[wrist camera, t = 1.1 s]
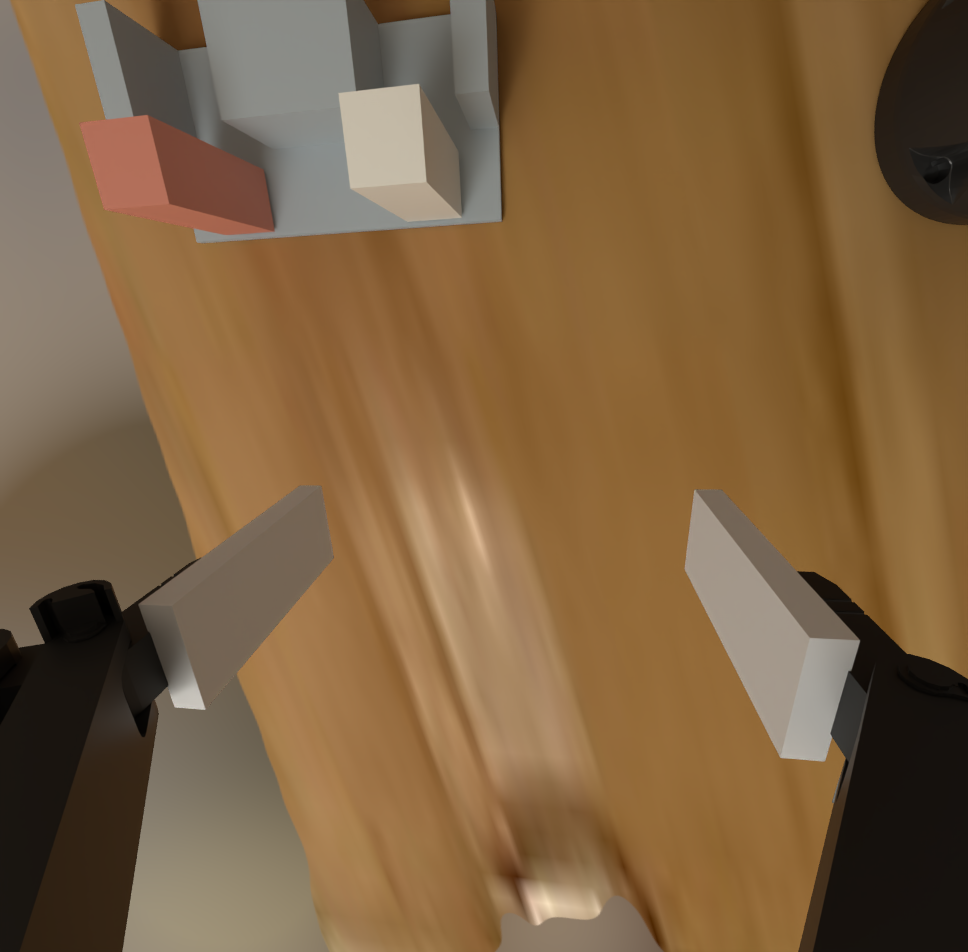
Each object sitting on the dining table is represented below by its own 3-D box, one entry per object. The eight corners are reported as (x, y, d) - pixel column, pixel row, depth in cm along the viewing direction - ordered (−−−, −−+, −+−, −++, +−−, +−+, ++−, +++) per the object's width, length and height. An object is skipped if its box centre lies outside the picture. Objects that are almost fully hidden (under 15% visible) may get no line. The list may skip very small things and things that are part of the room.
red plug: (263, 169, 35) (147, 114, 25) (274, 231, 37) (169, 204, 26) (213, 174, 36) (79, 122, 25) (226, 235, 37) (104, 209, 27)
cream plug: (458, 151, 33) (418, 83, 23) (462, 217, 35) (426, 182, 24) (401, 156, 34) (338, 93, 23) (407, 221, 35) (350, 188, 25)
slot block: (496, 13, 31) (483, -59, 25) (502, 221, 35) (492, 204, 29) (159, 58, 34) (74, 4, 28) (202, 243, 38) (136, 231, 32)
